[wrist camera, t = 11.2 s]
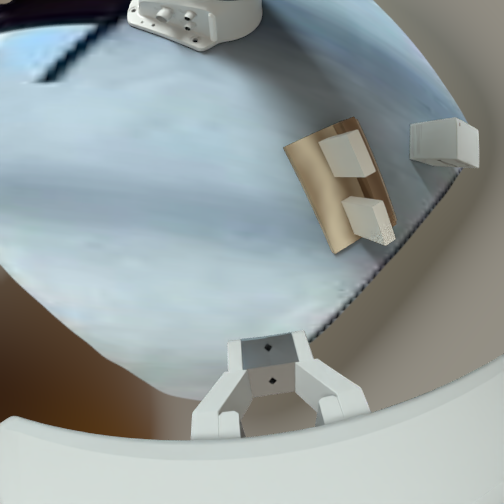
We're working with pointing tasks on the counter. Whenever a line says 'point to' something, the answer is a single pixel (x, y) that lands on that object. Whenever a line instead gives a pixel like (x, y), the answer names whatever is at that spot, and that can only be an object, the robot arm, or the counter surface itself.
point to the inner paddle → (347, 155)
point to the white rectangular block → (369, 219)
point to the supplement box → (445, 143)
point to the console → (334, 184)
